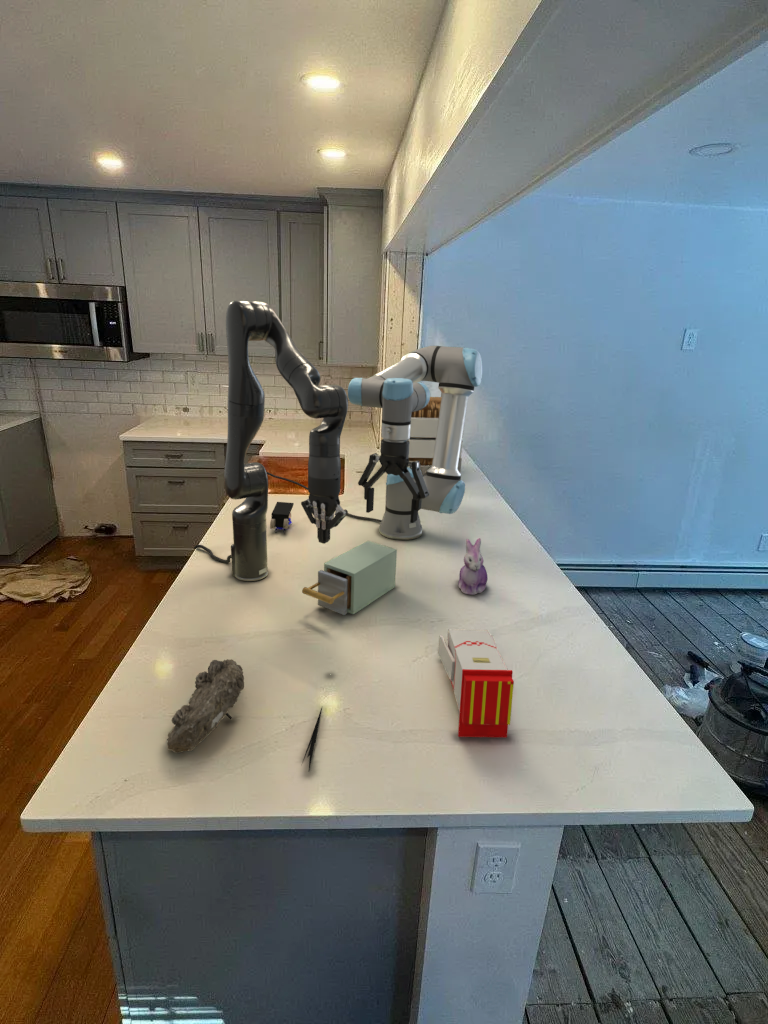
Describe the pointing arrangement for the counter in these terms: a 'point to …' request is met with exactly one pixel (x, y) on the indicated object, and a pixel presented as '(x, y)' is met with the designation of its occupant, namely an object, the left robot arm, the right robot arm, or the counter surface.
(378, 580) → the cabinet
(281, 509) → the figurine character
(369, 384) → the right robot arm
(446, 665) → the toy
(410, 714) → the counter surface
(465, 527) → the counter surface
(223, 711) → the fossil
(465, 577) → the figurine
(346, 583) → the drawer
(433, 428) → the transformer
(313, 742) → the feather
